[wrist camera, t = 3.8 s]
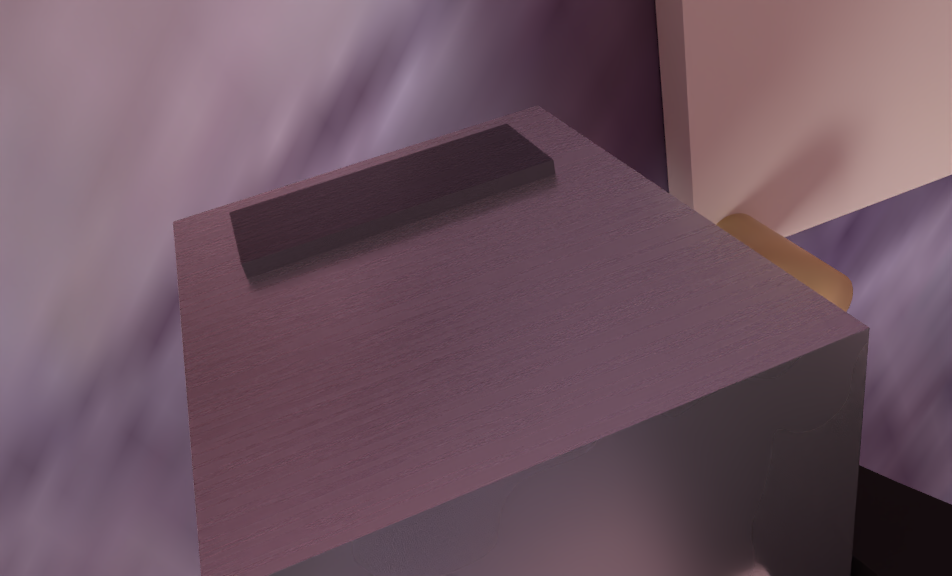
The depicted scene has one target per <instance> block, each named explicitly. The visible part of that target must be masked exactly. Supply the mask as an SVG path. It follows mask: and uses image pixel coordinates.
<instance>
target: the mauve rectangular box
mask: <svg viewBox="0 0 952 576" xmlns="http://www.w3.org/2000/svg"><path fill="white" fill-rule="evenodd" d="M173 228H174V241H175V253H176V266H177V279H178V291H179V304H180V316H181V329H182V342H183V354H184V367H185V379H186V392H187V405H188V417H189V430H190V442H191V455H192V468H193V480H194V493H195V505H196V518H197V531H198V543H199V556H200V568H201V576H850V573H851V560H852V547H853V534H854V521H855V508H856V495H857V482H858V469H859V456H860V444H861V431H862V418H863V405H864V392H865V379H866V366H867V353H868V340H869V327H868V326H866V325H865V324H863V323H862V322H860V321H859V320H857V319H856V318H854V317H853V316H851V315H850V314H848V313H847V312H845V311H844V310H842V309H841V308H839V307H838V306H836V305H835V304H833V303H832V302H830V301H829V300H827V299H826V298H824V297H823V296H821V295H820V294H818V293H817V292H815V291H814V290H812V289H811V288H809V287H808V286H806V285H805V284H803V283H802V282H800V281H799V280H797V279H796V278H795V277H793V276H792V275H790V274H789V273H787V272H786V271H784V270H783V269H781V268H780V267H778V266H777V265H775V264H774V263H772V262H771V261H769V260H768V259H766V258H765V257H763V256H762V255H760V254H759V253H757V252H756V251H754V250H753V249H751V248H750V247H748V246H747V245H745V244H744V243H742V242H741V241H739V240H738V239H736V238H735V237H733V236H732V235H730V234H729V233H727V232H726V231H724V230H723V229H721V228H720V227H719V226H717V225H716V224H714V223H713V222H711V221H710V220H708V219H707V218H705V217H704V216H702V215H701V214H699V213H698V212H696V211H695V210H693V209H692V208H690V207H689V206H687V205H686V204H684V203H683V202H681V201H680V200H678V199H677V198H675V197H674V196H672V195H671V194H669V193H668V192H666V191H665V190H663V189H662V188H660V187H659V186H657V185H656V184H654V183H653V182H651V181H650V180H648V179H647V178H645V177H644V176H642V175H641V174H640V173H638V172H637V171H635V170H634V169H632V168H631V167H629V166H628V165H626V164H625V163H623V162H622V161H620V160H619V159H617V158H616V157H614V156H613V155H611V154H610V153H608V152H607V151H605V150H604V149H602V148H601V147H599V146H598V145H596V144H595V143H593V142H592V141H590V140H589V139H587V138H586V137H584V136H583V135H581V134H580V133H578V132H577V131H575V130H574V129H572V128H571V127H569V126H568V125H566V124H565V123H564V122H562V121H561V120H559V119H558V118H556V117H555V116H553V115H552V114H550V113H549V112H547V111H546V110H544V109H543V108H541V107H540V106H538V105H537V106H534V107H531V108H528V109H524V110H521V111H518V112H515V113H512V114H509V115H506V116H503V117H499V118H496V119H493V120H490V121H487V122H484V123H481V124H478V125H474V126H471V127H468V128H465V129H462V130H459V131H456V132H452V133H449V134H446V135H443V136H440V137H437V138H434V139H431V140H427V141H424V142H421V143H418V144H415V145H412V146H409V147H406V148H402V149H399V150H396V151H393V152H390V153H387V154H384V155H380V156H377V157H374V158H371V159H368V160H365V161H362V162H359V163H355V164H352V165H349V166H346V167H343V168H340V169H337V170H334V171H330V172H327V173H324V174H321V175H318V176H315V177H312V178H308V179H305V180H302V181H299V182H296V183H293V184H290V185H287V186H283V187H280V188H277V189H274V190H271V191H268V192H265V193H262V194H258V195H255V196H252V197H249V198H246V199H243V200H240V201H236V202H233V203H230V204H227V205H224V206H221V207H218V208H215V209H211V210H208V211H205V212H202V213H199V214H196V215H193V216H190V217H186V218H183V219H180V220H177V221H174V222H173Z"/></svg>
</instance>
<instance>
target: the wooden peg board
mask: <svg viewBox="0 0 952 576" xmlns="http://www.w3.org/2000/svg"><path fill="white" fill-rule="evenodd" d="M655 4H656V18H657V32H658V46H659V60H660V74H661V87H662V101H663V115H664V129H665V143H666V157H667V171H668V184H669V194H671V195H672V196H674V197H675V198H677V199H678V200H680V201H681V202H683V203H684V204H686V205H687V206H689V207H690V208H692V209H693V210H695V211H696V212H698V213H699V214H701V215H702V216H704V217H705V218H707V219H708V220H710V221H711V222H713V223H714V224H716V225H717V226H719V227H720V228H721V229H723V230H724V231H726V232H727V233H729V234H730V235H732V236H733V237H735V238H736V239H738V240H739V241H741V242H742V243H744V244H745V245H747V246H748V247H750V248H751V249H753V250H754V251H756V252H757V253H759V254H760V255H762V256H763V257H765V258H766V259H768V260H769V261H771V262H772V263H774V264H775V265H777V266H778V267H780V268H781V269H783V270H784V271H786V272H787V273H789V274H790V275H792V276H793V277H795V278H796V279H797V280H799V281H800V282H802V283H803V284H805V285H806V286H808V287H809V288H811V289H812V290H814V291H815V292H817V293H818V294H820V295H821V296H823V297H824V298H826V299H827V300H829V301H830V302H832V303H833V304H835V305H836V306H838V307H839V308H841V309H842V310H844V311H845V312H847V310H848V308H849V306H850V303H851V300H852V296H853V287H852V283H851V281H850V280H849V278H848V277H847V276H845V275H844V274H842V273H841V272H839V271H837V270H836V269H834V268H833V267H831V266H829V265H828V264H826V263H825V262H823V261H821V260H820V259H818V258H817V257H815V256H813V255H812V254H810V253H809V252H807V251H805V250H804V249H802V248H801V247H799V246H797V245H796V244H794V243H793V242H791V241H789V240H788V239H786V238H784V237H787V236H790V235H792V234H795V233H798V232H800V231H803V230H806V229H808V228H811V227H814V226H816V225H819V224H822V223H824V222H827V221H830V220H832V219H835V218H838V217H840V216H843V215H845V214H848V213H851V212H853V211H856V210H859V209H861V208H864V207H867V206H869V205H872V204H875V203H877V202H880V201H883V200H885V199H888V198H891V197H893V196H896V195H899V194H901V193H904V192H906V191H909V190H912V189H914V188H917V187H920V186H922V185H925V184H928V183H930V182H933V181H936V180H938V179H941V178H944V177H946V176H949V175H952V0H655Z"/></svg>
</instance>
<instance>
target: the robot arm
mask: <svg viewBox="0 0 952 576" xmlns="http://www.w3.org/2000/svg"><path fill="white" fill-rule="evenodd" d="M850 576H952V505H951V504H949V503H946V502H944V501H941V500H939V499H937V498H934V497H932V496H929V495H927V494H925V493H922V492H920V491H917V490H915V489H913V488H910V487H908V486H905V485H903V484H901V483H898V482H896V481H893V480H891V479H889V478H887V477H884V476H882V475H880V474H878V473H876V472H873V471H871V470H869V469H867V468H864V467H862V466H860V465H859V469H858V482H857V495H856V508H855V521H854V534H853V547H852V560H851V573H850Z"/></svg>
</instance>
